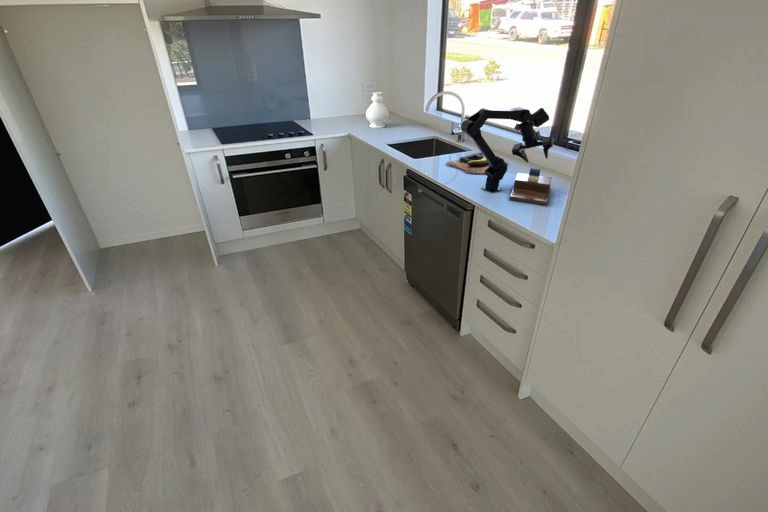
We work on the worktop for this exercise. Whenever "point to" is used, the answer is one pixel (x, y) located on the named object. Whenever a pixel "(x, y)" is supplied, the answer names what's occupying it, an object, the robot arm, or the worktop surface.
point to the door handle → (472, 157)
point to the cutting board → (472, 165)
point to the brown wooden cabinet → (531, 189)
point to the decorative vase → (377, 111)
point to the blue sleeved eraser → (534, 175)
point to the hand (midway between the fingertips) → (537, 160)
